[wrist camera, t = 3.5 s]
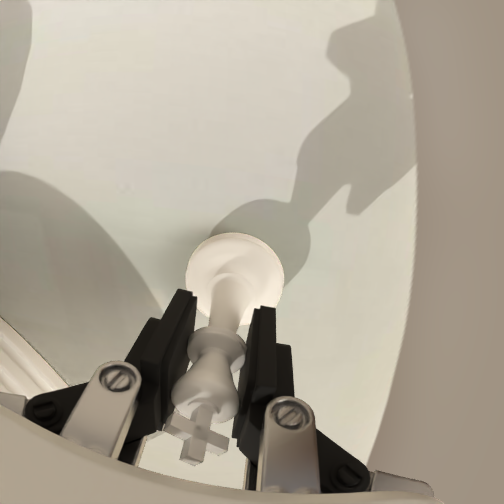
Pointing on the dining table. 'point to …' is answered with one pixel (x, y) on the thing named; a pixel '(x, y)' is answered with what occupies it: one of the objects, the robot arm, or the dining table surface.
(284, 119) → the dining table surface
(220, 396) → the chess piece
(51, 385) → the plate stack
